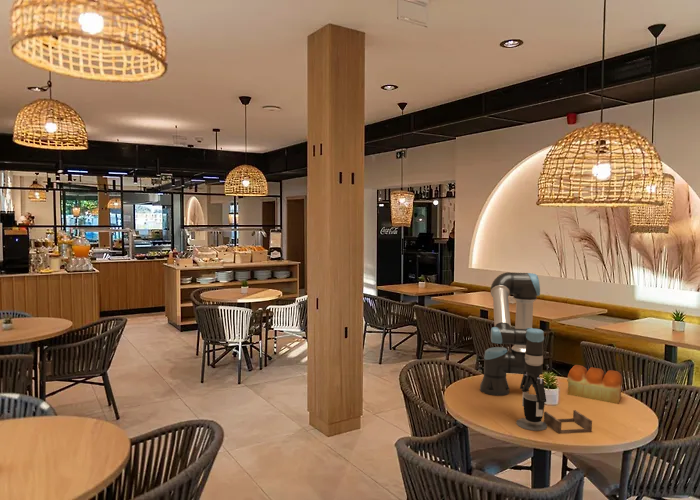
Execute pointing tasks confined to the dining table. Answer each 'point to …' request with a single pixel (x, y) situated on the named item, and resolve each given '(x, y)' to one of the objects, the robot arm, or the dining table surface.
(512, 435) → the dining table surface
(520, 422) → the coaster
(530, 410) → the mug
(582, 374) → the bread
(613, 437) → the dining table surface
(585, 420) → the frame
